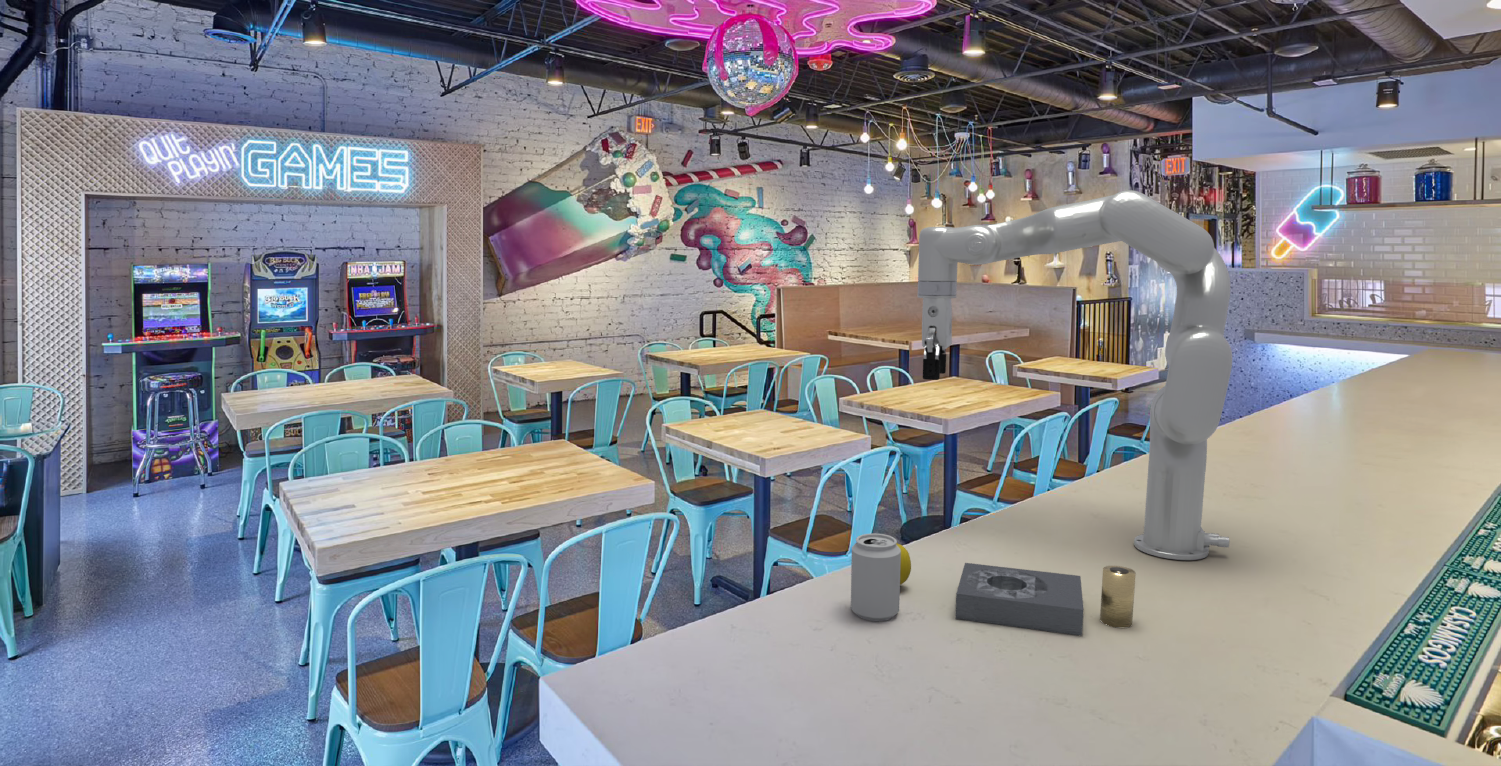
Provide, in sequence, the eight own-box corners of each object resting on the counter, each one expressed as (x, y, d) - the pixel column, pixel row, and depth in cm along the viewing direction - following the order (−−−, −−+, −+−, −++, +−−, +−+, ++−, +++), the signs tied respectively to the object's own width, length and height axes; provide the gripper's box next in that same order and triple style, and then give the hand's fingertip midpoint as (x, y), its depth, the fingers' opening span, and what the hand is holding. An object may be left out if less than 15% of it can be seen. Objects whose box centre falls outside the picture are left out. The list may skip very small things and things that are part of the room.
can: (864, 599, 136) (865, 527, 134) (907, 610, 131) (909, 536, 130) (841, 615, 129) (842, 540, 128) (886, 627, 125) (888, 550, 124)
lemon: (873, 582, 143) (874, 536, 142) (905, 581, 143) (906, 536, 142) (881, 595, 137) (882, 548, 136) (914, 594, 138) (915, 547, 137)
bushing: (1130, 617, 129) (1134, 566, 127) (1133, 629, 124) (1137, 577, 123) (1099, 613, 130) (1102, 563, 129) (1100, 625, 126) (1103, 573, 125)
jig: (1079, 599, 135) (1080, 575, 135) (1082, 635, 122) (1083, 609, 122) (964, 585, 141) (965, 562, 141) (955, 618, 128) (956, 593, 128)
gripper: (951, 292, 157) (948, 383, 159) (961, 289, 173) (958, 371, 176) (910, 291, 159) (908, 381, 162) (924, 288, 176) (921, 370, 178)
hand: (934, 376), depth 169 cm, fingers open, 9 cm apart
